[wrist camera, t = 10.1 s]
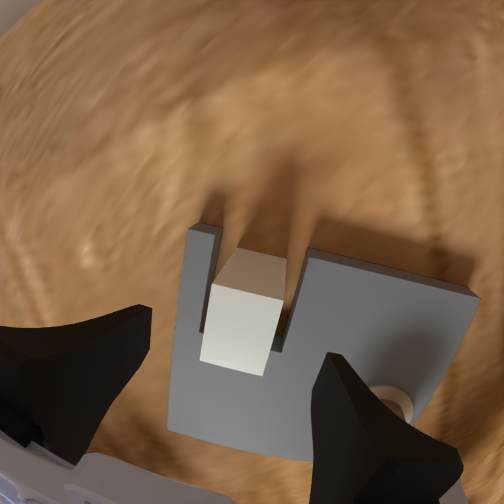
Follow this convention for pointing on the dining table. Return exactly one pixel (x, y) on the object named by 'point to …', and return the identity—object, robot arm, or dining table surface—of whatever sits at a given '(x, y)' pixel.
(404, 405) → the bobbin
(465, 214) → the dining table surface
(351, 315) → the board
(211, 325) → the block
